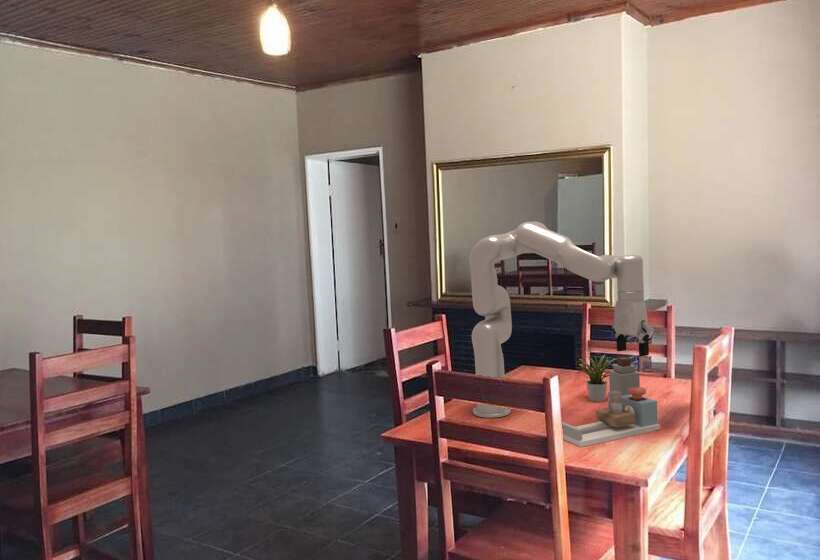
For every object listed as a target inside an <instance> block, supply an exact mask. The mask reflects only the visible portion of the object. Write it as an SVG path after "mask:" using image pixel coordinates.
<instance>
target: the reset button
mask: <svg viewBox="0 0 820 560" xmlns="http://www.w3.org/2000/svg"><path fill="white" fill-rule="evenodd" d="M628 393H629V394H631V395H632V399H633V400H642V399H643V398H642V397H643V395H644V396H645V395H646V394H647V388H645V387H642V386H640V387H630V388H628Z"/></svg>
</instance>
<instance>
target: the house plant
mask: <svg viewBox="0 0 820 560" xmlns="http://www.w3.org/2000/svg"><path fill="white" fill-rule="evenodd" d="M593 356H594V358H595V361H594V359H593V358H592V357H590V356H588V355H586V357H587V358H588V360H590V363H591V366H592V367H591V366H590V365H589V364H588V363H587V362H586V361H584V360H583V359H581V358H579V360H580V361H582V363H583V364H584V365H585V366H584V365H583V364H581V363H578V364H579V366H580V367H581V369H582V370H581V374H585V375H587V376H584V379H585V378H589V380H587V381H586V387H587V393H588V398H589V401H590V400H591V401H590V402H594V401H596V402H597V403H599V401H601V402H605V401H604V400H606V396H607V395H606V393H607V387H608V382H607V381H606V380H603V379H604V378H607V377H608V378H609V371H607V372H606V373H605V374H604V371H606V369H607V368H608V366H609V365H610V364H611V363H612V362H613V361H616V358H614V359H611V360H609V358H608V357H606V358H605V356H606V354H604V355H602V356H601V357H600V359H599V361H598V359H597V356H596V355H595V354H594V355H593ZM604 360H605V361H604Z"/></svg>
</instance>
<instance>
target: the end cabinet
mask: <svg viewBox="0 0 820 560" xmlns="http://www.w3.org/2000/svg"><path fill="white" fill-rule="evenodd" d="M642 398H643V399H642V400H633V399H632V395H631V394H630V395H625V396H622V409H623V410H626V411H629V412H632V413H635V424H634V425H637V426H640V427H645V426H650V425H654V424H659V422H658V401H657V400H656V399H652V398H648V397H645V396H642Z"/></svg>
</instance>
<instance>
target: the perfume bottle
mask: <svg viewBox="0 0 820 560" xmlns="http://www.w3.org/2000/svg"><path fill="white" fill-rule="evenodd" d="M611 366H612V368H613V369H612V370H609V371H608V372H609V373H608V375H609V376H608V378H609V392H612V391H619V392H622V396H625V395H630V394H629V393H628V388H630V387H641V385H640V384H641V382H640V372H639V371H638V372H637V371H636V368H637V365H635V364H632V358H630V357H628V356H622V357H621V356H620V357H616V363H613V364H611Z"/></svg>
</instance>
